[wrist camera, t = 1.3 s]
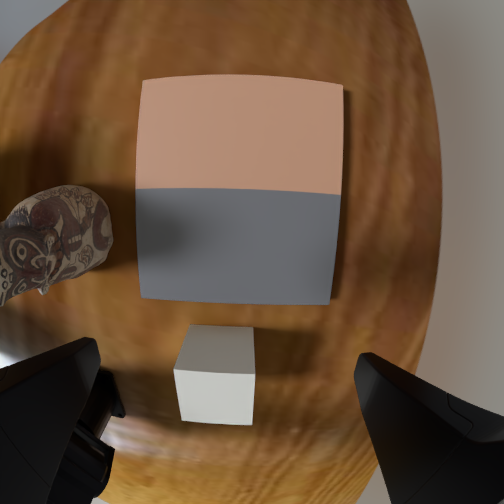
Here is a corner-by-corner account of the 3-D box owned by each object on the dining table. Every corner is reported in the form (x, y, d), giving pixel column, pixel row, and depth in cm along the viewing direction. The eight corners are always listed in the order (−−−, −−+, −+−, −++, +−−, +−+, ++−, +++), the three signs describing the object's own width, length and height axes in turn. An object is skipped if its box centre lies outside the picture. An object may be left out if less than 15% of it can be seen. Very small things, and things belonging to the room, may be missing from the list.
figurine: (97, 286, 20) (5, 364, 9) (40, 245, 19) (-59, 290, 8) (126, 209, 19) (10, 246, 7) (63, 171, 18) (-53, 178, 6)
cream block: (250, 375, 23) (252, 424, 17) (194, 372, 23) (181, 420, 17) (253, 326, 21) (255, 374, 16) (190, 323, 21) (173, 369, 16)
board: (325, 299, 21) (329, 304, 20) (145, 292, 21) (141, 297, 20) (338, 89, 17) (342, 85, 16) (147, 84, 17) (143, 80, 16)
